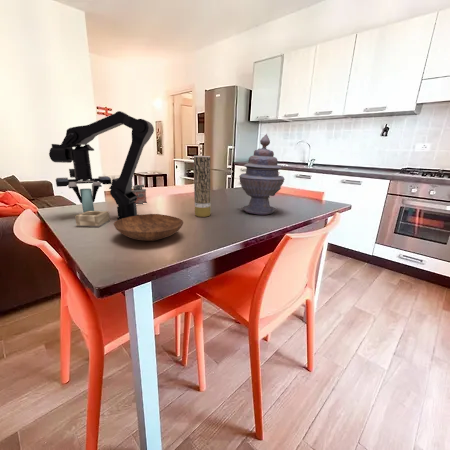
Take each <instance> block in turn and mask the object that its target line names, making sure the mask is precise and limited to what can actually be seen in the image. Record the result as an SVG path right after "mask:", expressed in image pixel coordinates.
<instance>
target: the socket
mask: <svg viewBox="0 0 450 450" xmlns="http://www.w3.org/2000/svg"><path fill="white" fill-rule="evenodd" d="M109 213H110V212H109V210H94V211H86V212H84V213H83V212H82V213H79V214H77V215H75V217H74V218H75V223H76V227H77V228H100V227H102V226H103V225H104V226H105V225H106V224H108V223H109V222H110V220H111V219H110V215H109Z"/></svg>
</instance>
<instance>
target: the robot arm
mask: <svg viewBox="0 0 450 450" xmlns="http://www.w3.org/2000/svg"><path fill="white" fill-rule="evenodd" d="M123 125H124V126H125V127H127V128H130V129H131V143H130V145H129V150H128V152H127V156H126V158H125V161H124V163H123V166H122V169H121V173H120V175H119V177H118V178H117V177H116V178H113V179H112V178H111V177H110V176H106V175H104V176H102V175H99V176H98V177H96V178H93V174H92V166H91V159H90V153H89V152H93V151H95V148H93V147H92V146H91V145H90V144H89V143H90V142H92V141H94V139H95V138H96V137H97V136H100V135H101V134H104V133H106V132H109V131H111V130H113V129H115V128H118V127H121V126H123ZM154 129H155V128H154V125H153V124H152V122H150V121H148V120H146V119H144V118H135V117H132V116H130V115H128V114H127V113H126V112H124V111H122V110H121V111H119V110H118V111H116V112H115V113H113V114H110V115H107V116H105V117H103V118H101V119H99V120H96V121H94V122H91V123H90V124H87V125H78V126H73V127H69V128H67V129H66V133H65V136H64V138H63V140H62V142H61V143H60V144H59V143H51V148H50V149H49V153H48V155H49V159H50V160H51V161H52V162H53V163H65V164H66V163H67V164H68V163H73V164H72V165H73V168H68V172H69V177H70V178H71V179H69V178H68V177H56V178H55V184H56V187H57V188H58V187H59V188H60V187H67V186H68V189H72V190H73V192H74V193H75V194H76V197H77V199H78V200H79V202H80V204H82V199H81V194H80V189H79V186H78V184H81V185H82V184H91V191H92V198H93V203H94V202H95V200H96V198H97V197H96V196H97V192H98V191H99V189H100V187H101V188H102V187H103V186H102V185H110V186H109V189H108V190H110V191H109V194H110V196H111V197H112V199H113V200H114V201H115V204H116V205H117V206H116V210H117V220H120V219H122V218H127V217H131V216H137V215H138V211H137V205H136V202H135V201H136V200H137V196H136V195H135V194H134V193H133V192H132V191H131V190H133V177H134V175H135V173H136V169H137V166H138V164H139V162H140V158H141V157H142V156H141V155H142V153H143V150H144V148H145V145H146V144H147V143H148V142H149V141H150V139H151V137H152V136H153V134H154V131H155V130H154Z"/></svg>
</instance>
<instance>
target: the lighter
mask: <svg viewBox="0 0 450 450" xmlns="http://www.w3.org/2000/svg"><path fill="white" fill-rule="evenodd" d="M144 187H145V185H144V184H136V185H132V190H131V191H132V192H133V193H134V194H135V195H136V196H137V200H136V201H135V202H136V204H142V205H144V204H143V203H147V204H148V202H147V192H146V191H147V189H146V188H144Z"/></svg>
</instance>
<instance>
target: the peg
mask: <svg viewBox="0 0 450 450" xmlns="http://www.w3.org/2000/svg"><path fill="white" fill-rule="evenodd" d="M79 192H80V196H81V199H82V203H81V206H82V213H84V212H86V211H95V205H94V202H93V198H92V188H80V189H79Z"/></svg>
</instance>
